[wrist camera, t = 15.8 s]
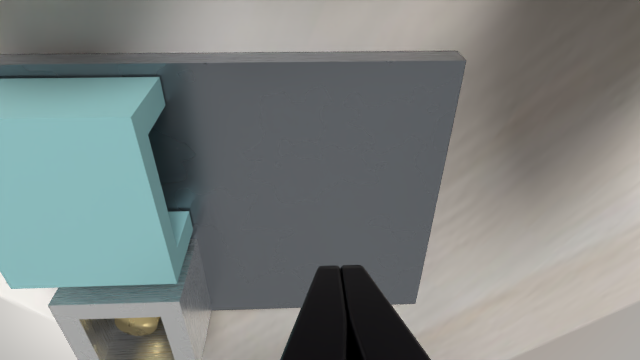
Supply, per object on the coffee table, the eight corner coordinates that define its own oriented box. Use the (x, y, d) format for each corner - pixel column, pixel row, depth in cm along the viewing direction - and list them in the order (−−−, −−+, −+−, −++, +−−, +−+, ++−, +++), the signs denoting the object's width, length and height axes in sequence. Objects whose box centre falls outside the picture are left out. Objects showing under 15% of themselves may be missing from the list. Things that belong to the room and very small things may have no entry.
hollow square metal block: (196, 238, 22) (179, 301, 18) (211, 308, 25) (199, 372, 22) (85, 241, 21) (47, 305, 18) (115, 311, 25) (87, 377, 21)
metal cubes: (457, 50, 18) (495, 90, 14) (410, 288, 26) (427, 348, 23) (-30, 54, 17) (-112, 97, 14) (85, 298, 26) (53, 362, 22)
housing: (159, 76, 17) (130, 117, 14) (193, 229, 21) (176, 283, 18) (-25, 78, 16) (-93, 120, 13) (50, 233, 21) (11, 288, 18)
